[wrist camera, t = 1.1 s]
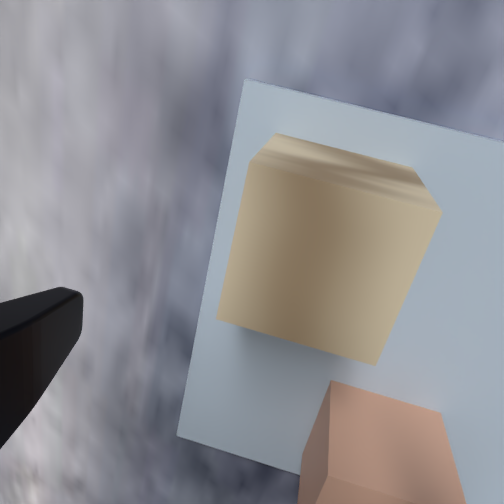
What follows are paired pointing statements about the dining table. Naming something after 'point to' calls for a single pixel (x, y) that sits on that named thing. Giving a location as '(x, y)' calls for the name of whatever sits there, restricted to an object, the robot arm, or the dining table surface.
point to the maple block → (326, 247)
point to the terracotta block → (377, 453)
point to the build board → (407, 322)
